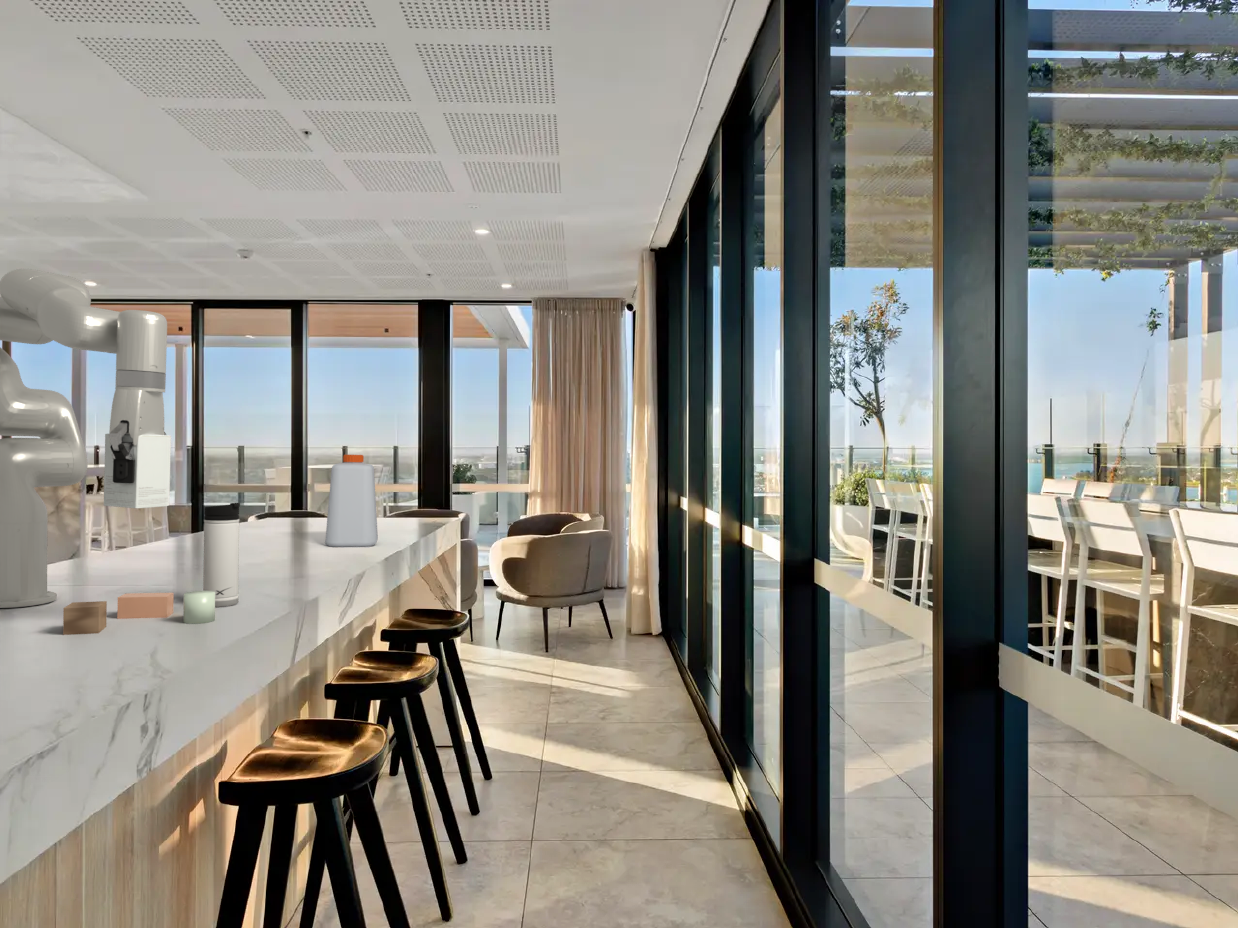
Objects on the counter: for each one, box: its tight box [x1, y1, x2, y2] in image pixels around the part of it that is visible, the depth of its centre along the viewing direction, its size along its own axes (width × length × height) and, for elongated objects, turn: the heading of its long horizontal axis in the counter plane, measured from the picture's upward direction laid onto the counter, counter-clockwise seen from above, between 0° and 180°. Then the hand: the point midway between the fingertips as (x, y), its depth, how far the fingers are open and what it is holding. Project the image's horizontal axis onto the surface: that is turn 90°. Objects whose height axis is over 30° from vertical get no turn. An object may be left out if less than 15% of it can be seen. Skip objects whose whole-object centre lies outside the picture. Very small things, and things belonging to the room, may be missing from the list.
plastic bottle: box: [325, 454, 379, 548], centre depth 257 cm, size 15×15×28 cm
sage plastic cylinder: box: [182, 590, 216, 625], centre depth 146 cm, size 5×5×5 cm
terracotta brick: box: [116, 592, 175, 620], centre depth 149 cm, size 8×4×4 cm, turn 103°
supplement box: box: [103, 433, 172, 509], centre depth 143 cm, size 7×7×13 cm
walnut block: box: [62, 600, 108, 636], centre depth 137 cm, size 5×5×4 cm
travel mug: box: [202, 502, 241, 608], centre depth 161 cm, size 6×7×20 cm
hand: (137, 481), depth 144 cm, fingers closed on supplement box, 9 cm apart
